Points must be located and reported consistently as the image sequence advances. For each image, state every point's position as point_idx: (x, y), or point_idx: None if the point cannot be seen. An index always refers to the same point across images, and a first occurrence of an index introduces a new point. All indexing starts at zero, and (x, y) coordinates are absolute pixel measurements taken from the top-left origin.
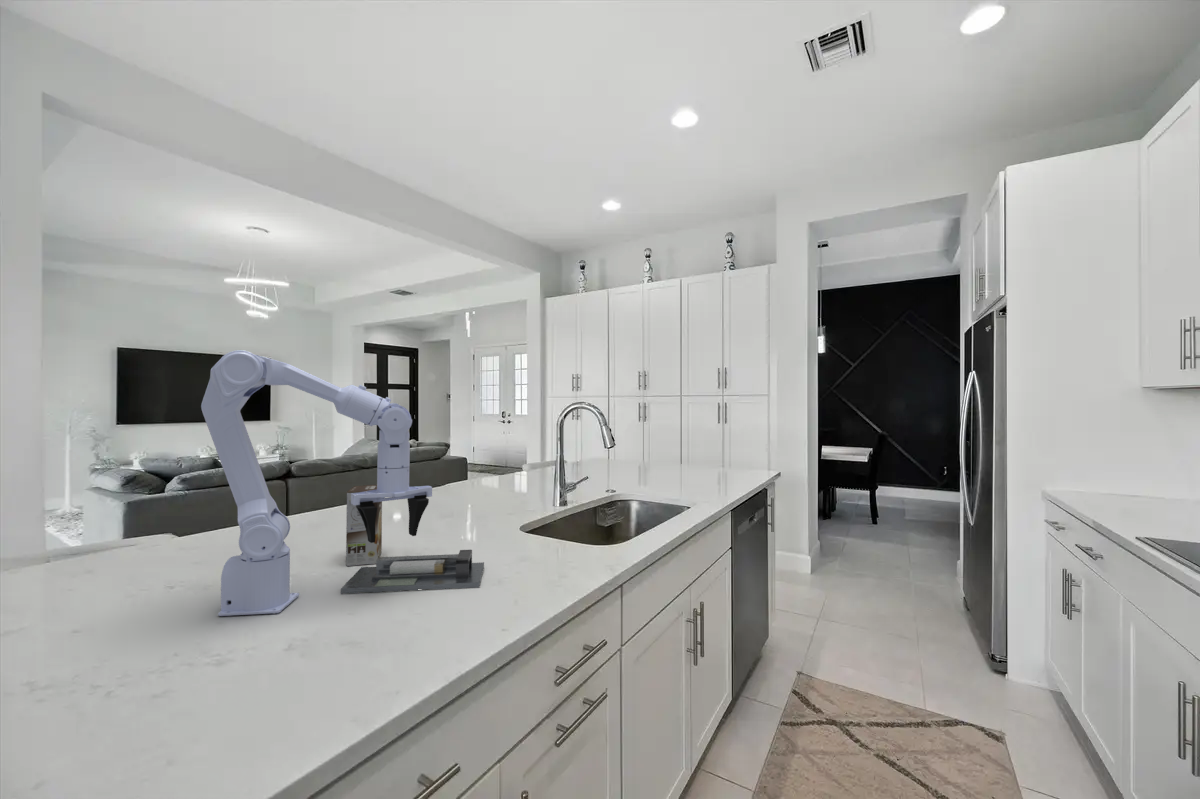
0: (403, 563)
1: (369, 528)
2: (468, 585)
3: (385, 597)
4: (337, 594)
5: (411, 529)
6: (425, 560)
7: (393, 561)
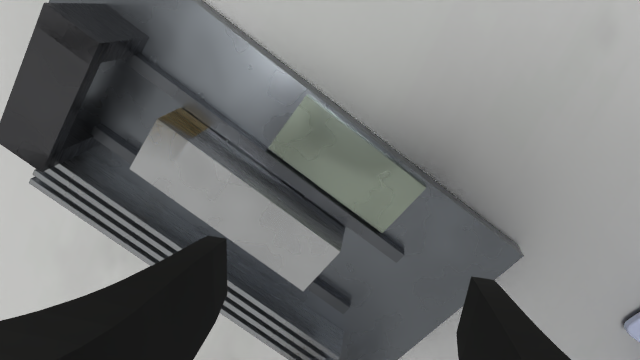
0: (282, 246)
1: (556, 347)
2: None
3: (424, 100)
4: (526, 250)
5: (211, 282)
6: (198, 216)
7: (289, 316)
